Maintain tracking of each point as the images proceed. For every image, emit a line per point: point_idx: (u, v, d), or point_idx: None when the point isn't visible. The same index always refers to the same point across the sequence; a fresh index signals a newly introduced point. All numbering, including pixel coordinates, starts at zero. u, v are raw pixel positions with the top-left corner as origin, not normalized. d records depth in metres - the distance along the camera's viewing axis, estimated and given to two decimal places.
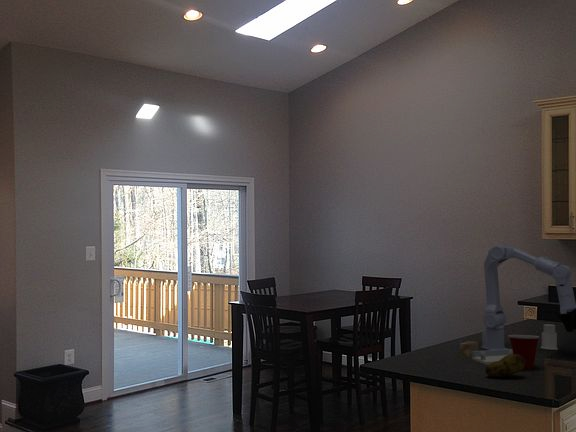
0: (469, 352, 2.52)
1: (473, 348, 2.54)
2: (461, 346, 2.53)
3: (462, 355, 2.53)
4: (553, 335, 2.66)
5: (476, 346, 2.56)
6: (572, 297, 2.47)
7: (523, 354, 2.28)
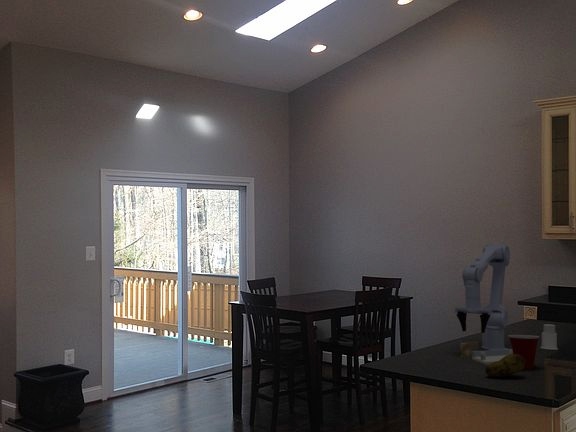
0: (469, 352, 2.52)
1: (473, 348, 2.54)
2: (461, 346, 2.53)
3: (462, 355, 2.53)
4: (553, 335, 2.66)
5: (476, 346, 2.56)
6: (467, 300, 2.53)
7: (523, 354, 2.28)
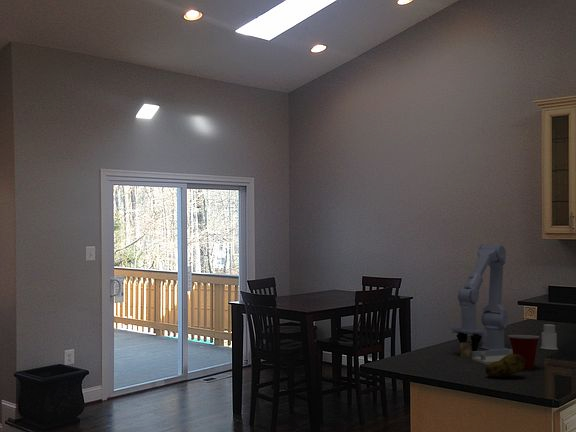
0: (469, 352, 2.52)
1: None
2: (461, 346, 2.53)
3: (462, 355, 2.53)
4: (553, 335, 2.66)
5: None
6: (462, 321, 2.55)
7: (523, 354, 2.28)
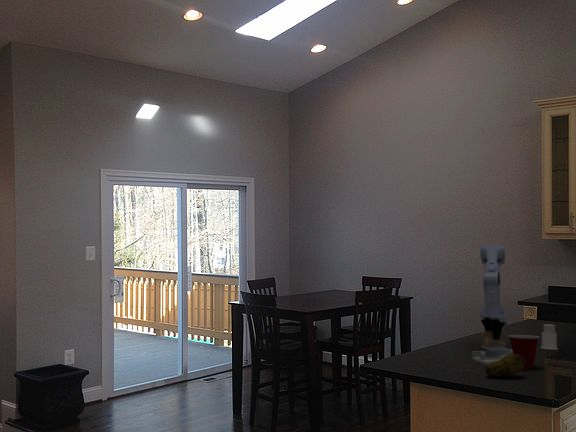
0: (487, 341, 2.43)
1: None
2: (482, 334, 2.46)
3: (482, 343, 2.46)
4: (553, 335, 2.66)
5: (501, 336, 2.44)
6: None
7: (523, 354, 2.28)
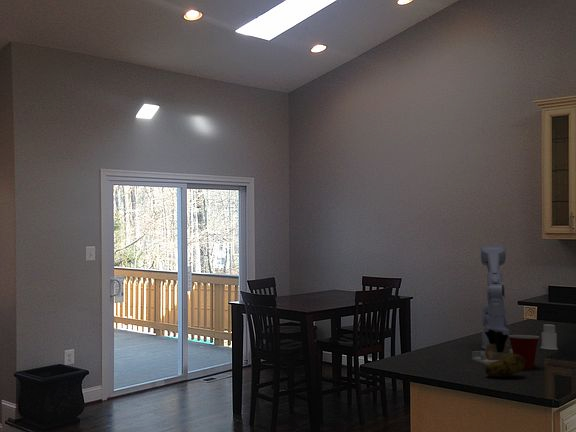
0: (491, 354, 2.42)
1: None
2: (485, 347, 2.45)
3: (486, 356, 2.44)
4: (553, 335, 2.66)
5: (504, 349, 2.43)
6: None
7: (523, 354, 2.28)
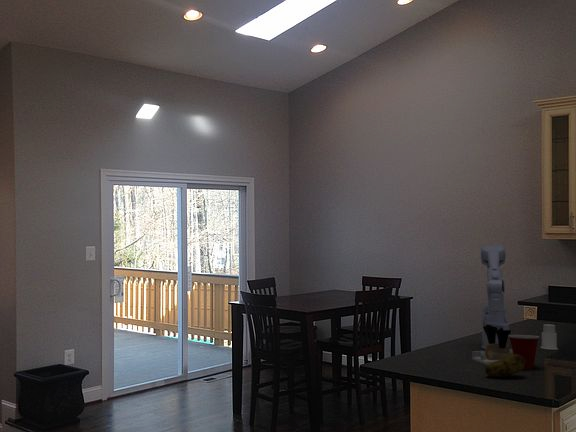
0: (491, 354, 2.42)
1: (498, 350, 2.42)
2: (485, 347, 2.45)
3: (486, 356, 2.44)
4: (553, 335, 2.66)
5: (504, 349, 2.43)
6: (488, 313, 2.45)
7: (523, 354, 2.28)
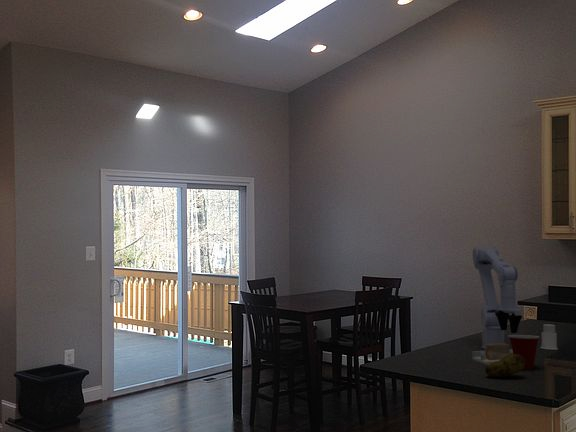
0: (491, 354, 2.42)
1: (498, 350, 2.42)
2: (485, 347, 2.45)
3: (486, 356, 2.44)
4: (553, 335, 2.66)
5: (504, 349, 2.43)
6: (500, 299, 2.55)
7: (523, 354, 2.28)
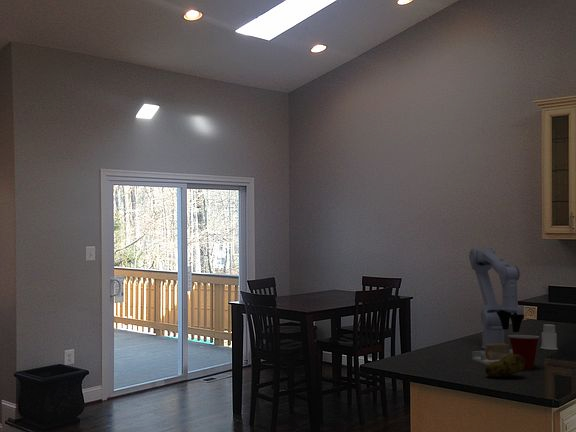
0: (491, 354, 2.42)
1: (498, 350, 2.42)
2: (485, 347, 2.45)
3: (486, 356, 2.44)
4: (553, 335, 2.66)
5: (504, 349, 2.43)
6: (502, 299, 2.56)
7: (523, 354, 2.28)
